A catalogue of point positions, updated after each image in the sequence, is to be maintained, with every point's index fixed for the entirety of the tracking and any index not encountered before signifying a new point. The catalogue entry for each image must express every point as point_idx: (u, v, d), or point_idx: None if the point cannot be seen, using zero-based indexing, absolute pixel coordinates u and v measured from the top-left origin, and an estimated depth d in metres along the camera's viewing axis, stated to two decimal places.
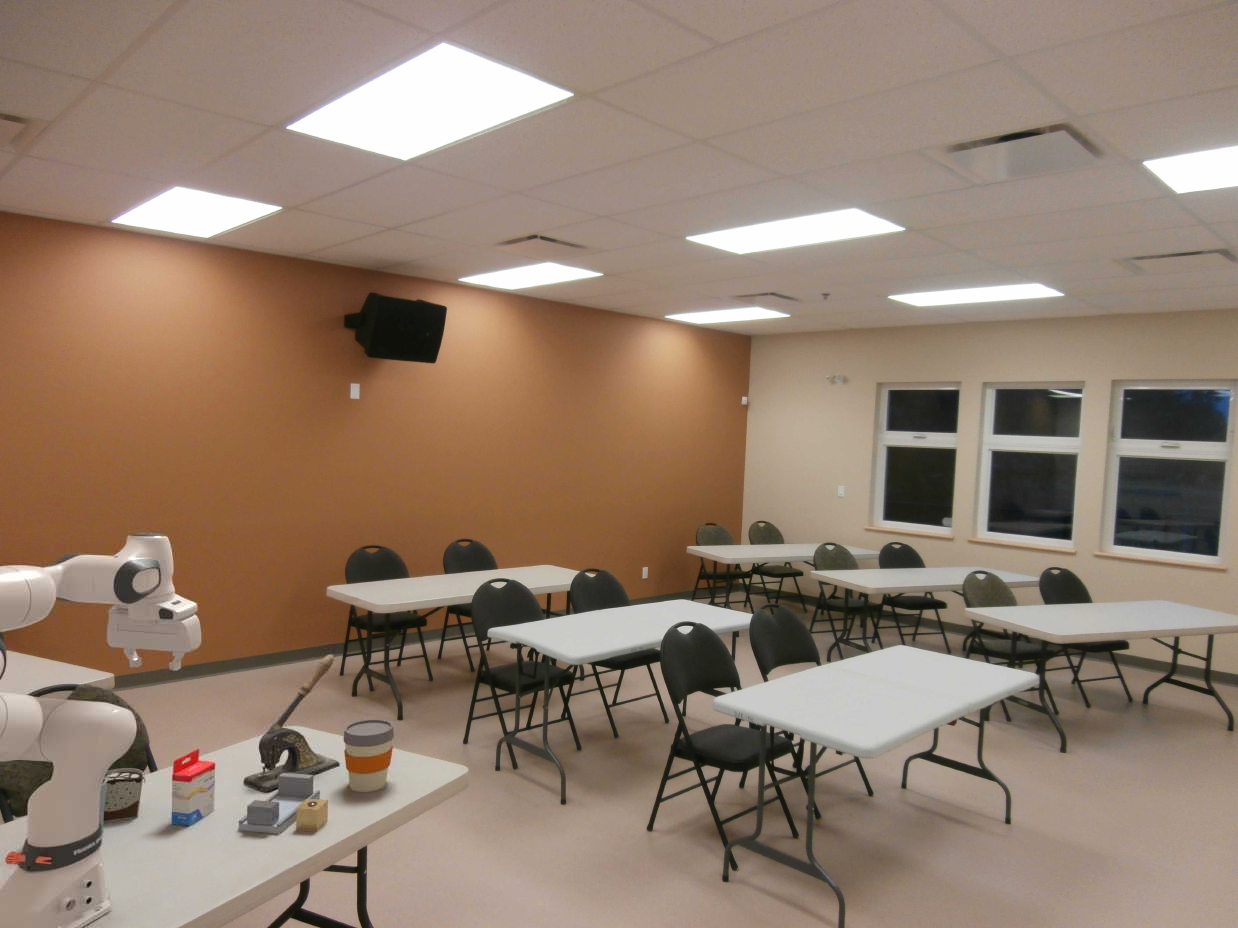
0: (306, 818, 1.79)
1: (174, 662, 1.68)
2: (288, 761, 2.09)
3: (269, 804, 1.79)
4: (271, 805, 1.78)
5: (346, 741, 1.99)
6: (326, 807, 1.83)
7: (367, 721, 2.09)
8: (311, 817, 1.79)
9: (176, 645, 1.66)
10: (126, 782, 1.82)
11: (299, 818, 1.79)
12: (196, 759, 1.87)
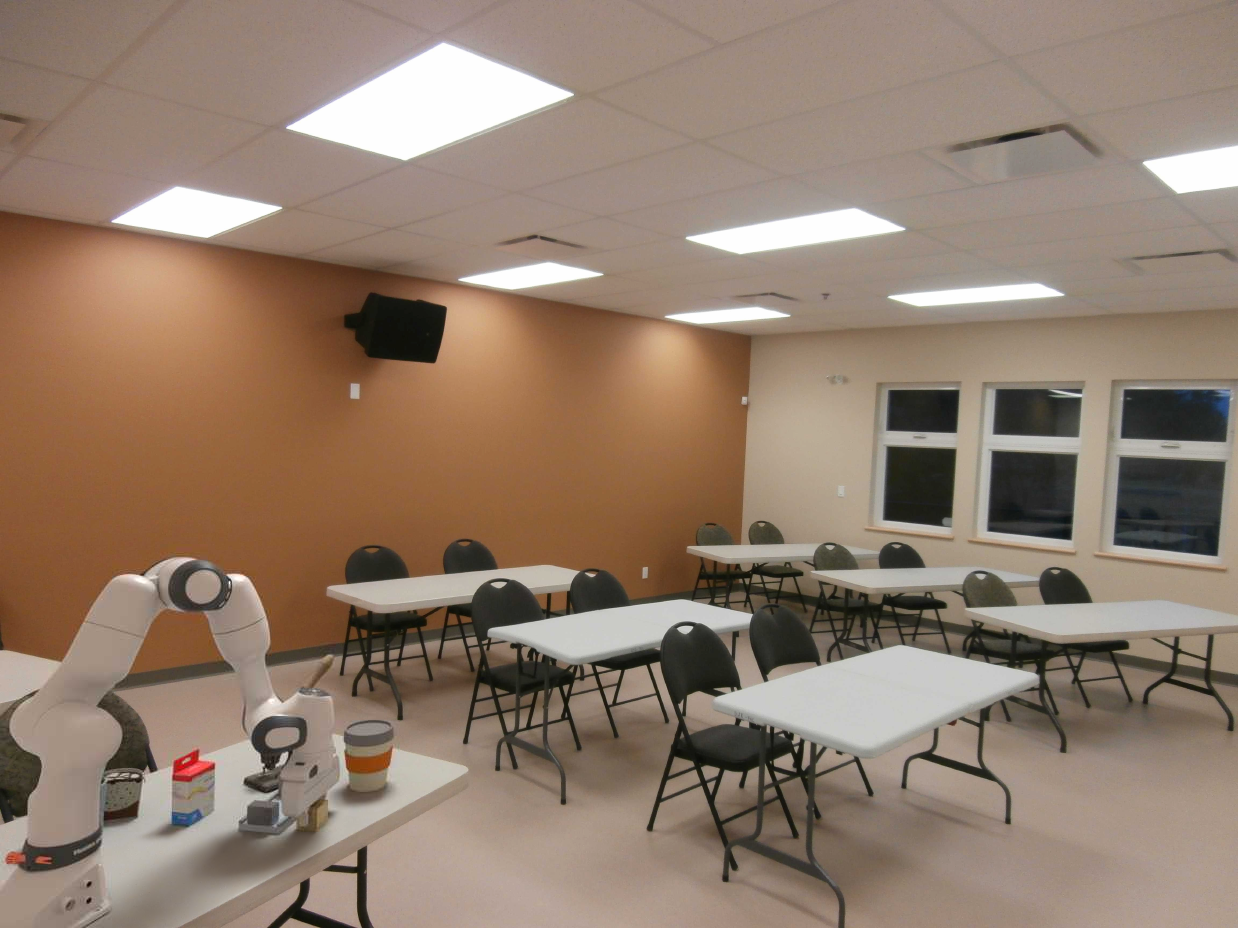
0: None
1: None
2: None
3: (269, 804, 1.79)
4: (271, 805, 1.78)
5: (346, 741, 1.99)
6: (326, 807, 1.83)
7: (367, 721, 2.09)
8: (311, 816, 1.79)
9: None
10: (126, 782, 1.82)
11: None
12: (196, 759, 1.87)
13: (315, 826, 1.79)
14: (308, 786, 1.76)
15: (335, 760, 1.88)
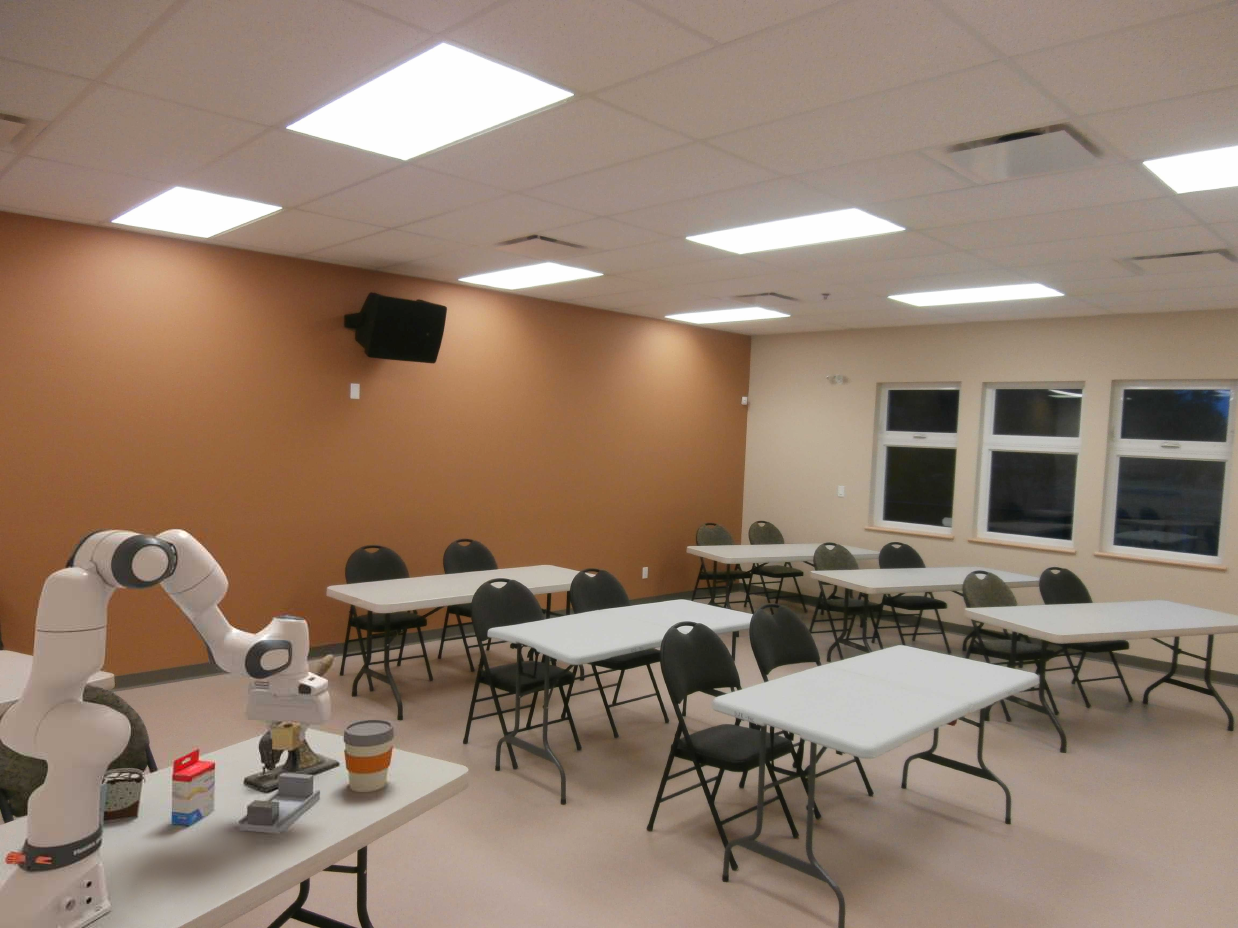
0: None
1: (300, 733, 1.87)
2: (288, 761, 2.09)
3: (269, 804, 1.79)
4: (271, 805, 1.78)
5: (346, 741, 1.99)
6: None
7: (367, 721, 2.09)
8: None
9: (310, 718, 1.86)
10: (126, 782, 1.82)
11: (294, 737, 1.87)
12: (196, 759, 1.87)
13: None
14: None
15: None
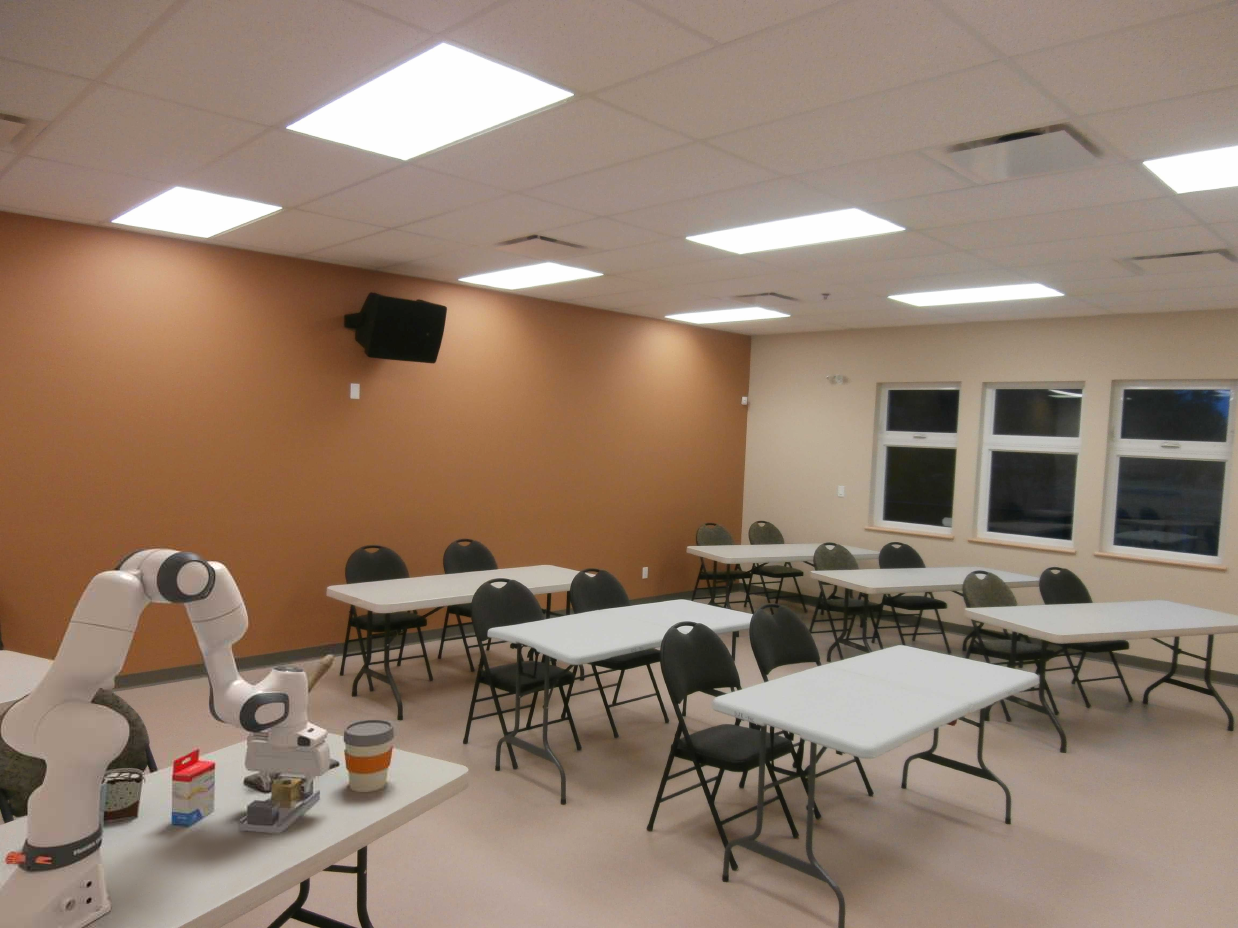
0: (296, 792, 1.89)
1: (305, 785, 1.87)
2: None
3: (269, 804, 1.79)
4: (271, 805, 1.78)
5: (346, 741, 1.99)
6: None
7: (367, 721, 2.09)
8: (299, 788, 1.90)
9: (309, 769, 1.86)
10: (126, 782, 1.82)
11: (293, 795, 1.87)
12: (196, 759, 1.87)
13: (301, 795, 1.91)
14: None
15: None
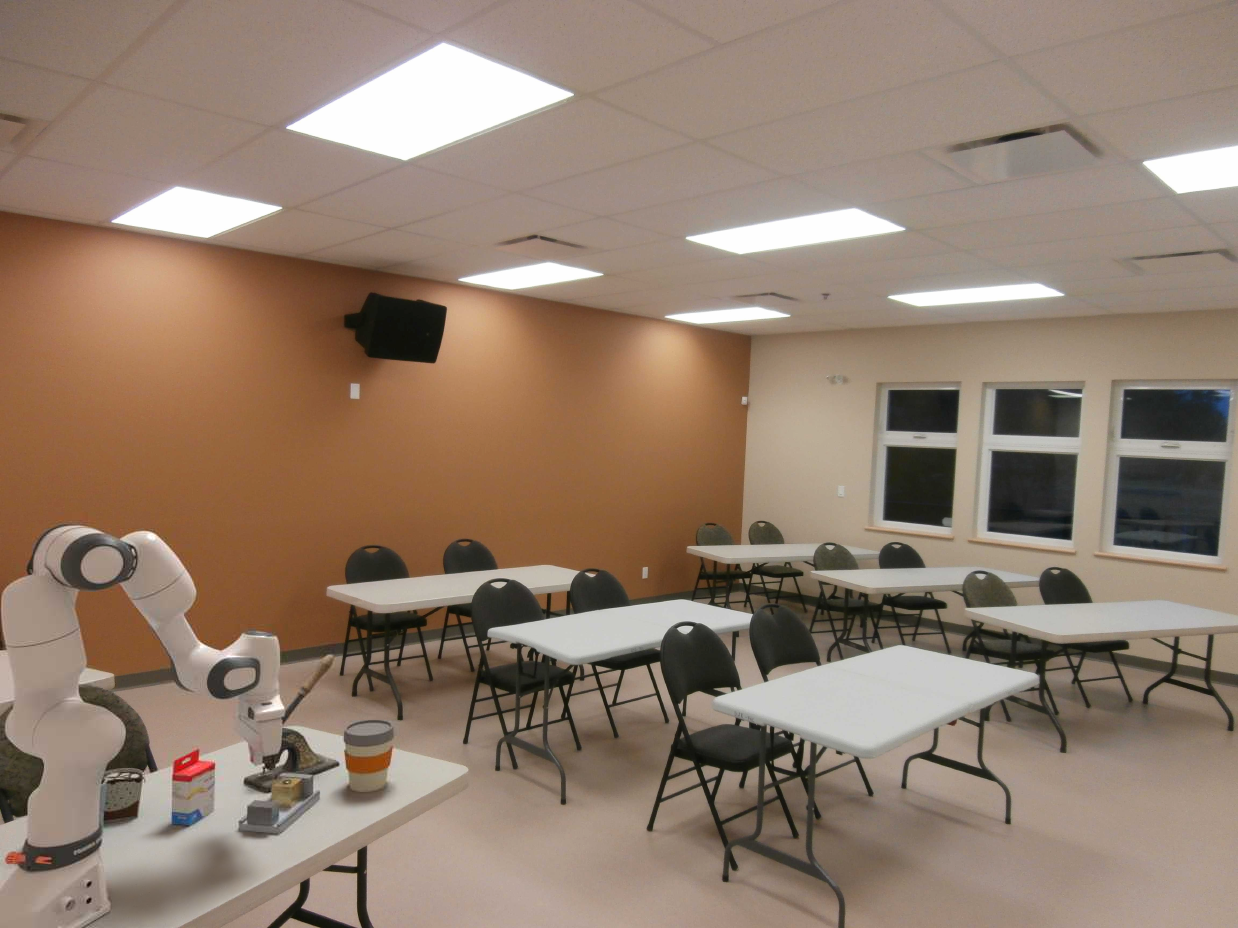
0: (296, 792, 1.89)
1: (254, 757, 1.76)
2: (288, 761, 2.09)
3: (269, 804, 1.79)
4: (271, 805, 1.78)
5: (346, 741, 1.99)
6: None
7: (367, 721, 2.09)
8: (299, 788, 1.90)
9: (258, 746, 1.71)
10: (126, 782, 1.82)
11: (293, 795, 1.87)
12: (196, 759, 1.87)
13: (301, 795, 1.91)
14: None
15: None
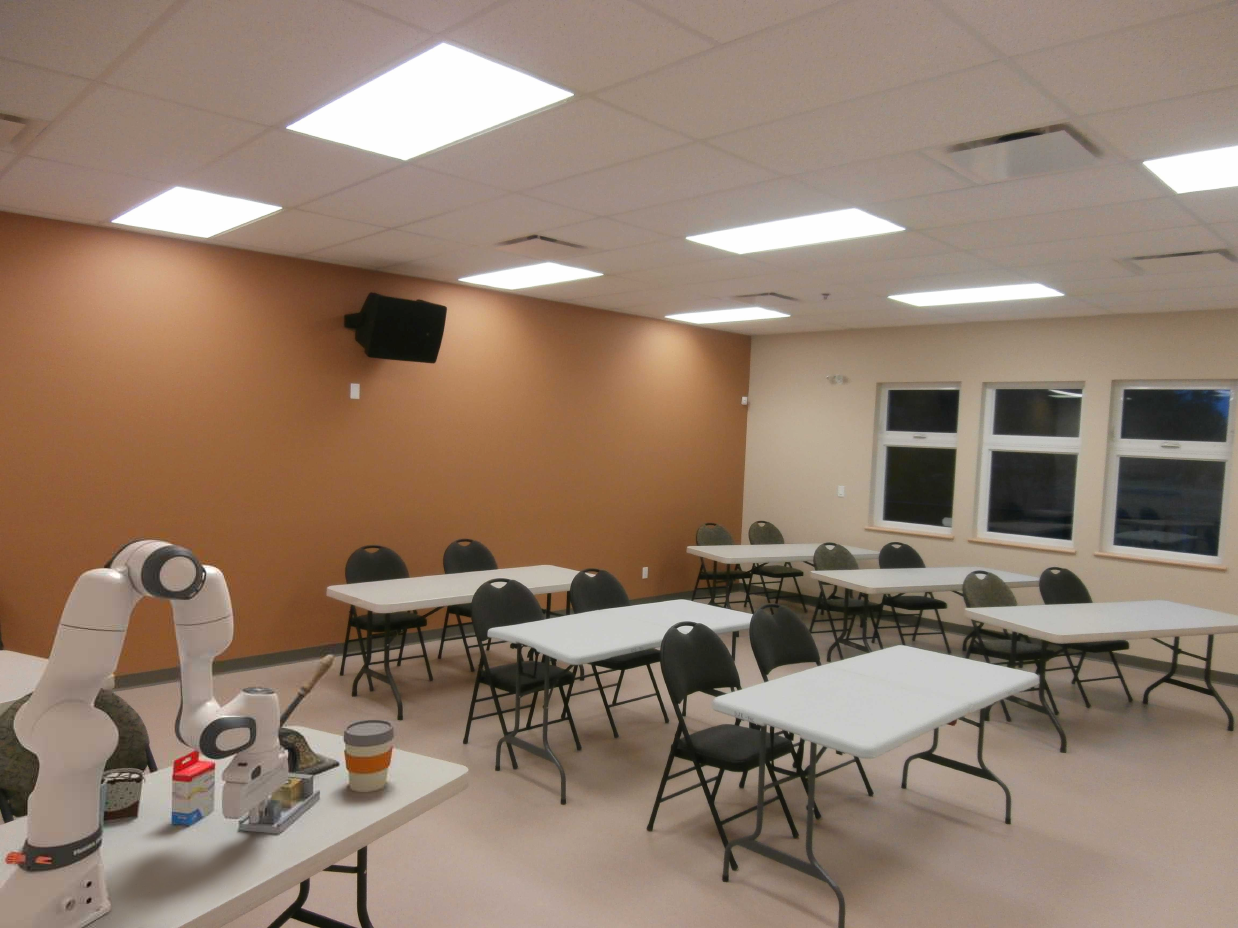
0: (296, 792, 1.89)
1: None
2: (288, 761, 2.09)
3: (271, 802, 1.79)
4: (273, 804, 1.79)
5: (346, 741, 1.99)
6: None
7: (367, 721, 2.09)
8: (299, 788, 1.90)
9: None
10: (126, 782, 1.82)
11: (293, 795, 1.87)
12: (196, 759, 1.87)
13: (301, 795, 1.91)
14: (251, 787, 1.71)
15: (283, 760, 1.83)
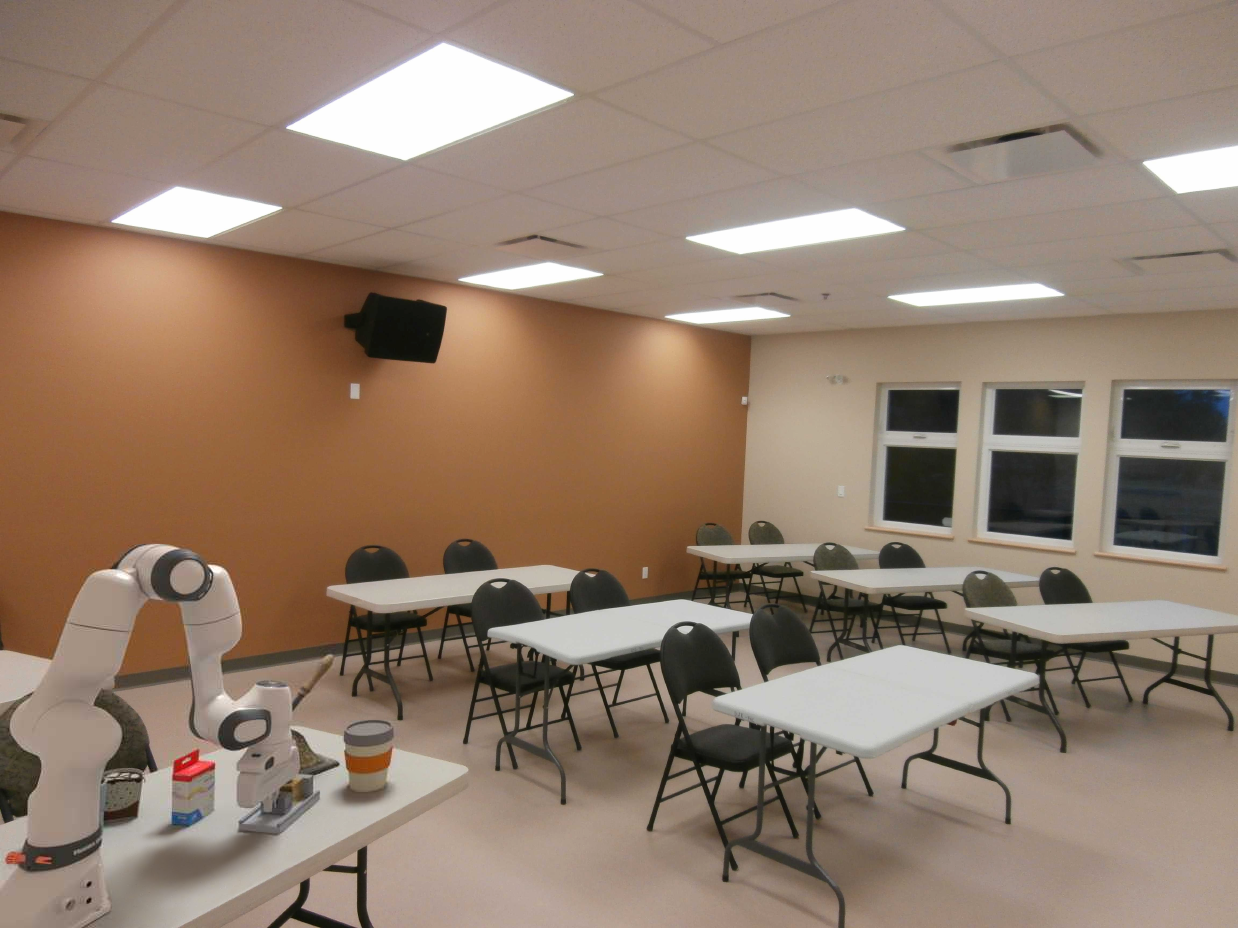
0: (297, 791, 1.89)
1: None
2: None
3: (282, 794, 1.84)
4: (284, 795, 1.84)
5: (346, 741, 1.99)
6: None
7: (367, 721, 2.09)
8: (300, 787, 1.90)
9: None
10: (126, 782, 1.82)
11: (294, 794, 1.88)
12: (196, 759, 1.87)
13: (302, 794, 1.91)
14: (264, 778, 1.76)
15: (294, 752, 1.88)
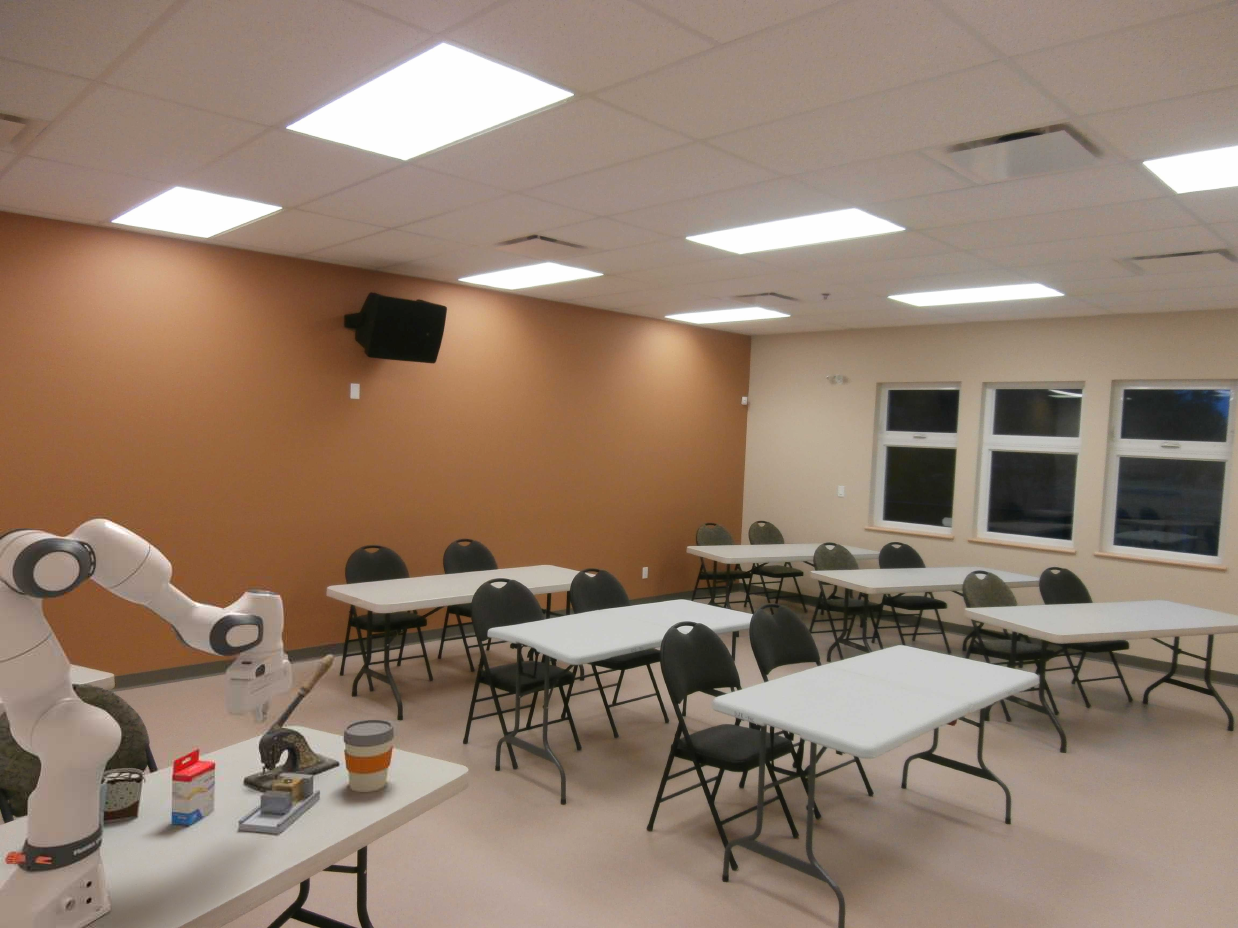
0: (297, 791, 1.89)
1: None
2: (288, 761, 2.09)
3: (282, 794, 1.84)
4: (284, 795, 1.84)
5: (346, 741, 1.99)
6: None
7: (367, 721, 2.09)
8: (300, 787, 1.90)
9: None
10: (126, 782, 1.82)
11: (294, 794, 1.88)
12: (196, 759, 1.87)
13: (302, 794, 1.91)
14: (255, 686, 1.72)
15: (286, 666, 1.84)
